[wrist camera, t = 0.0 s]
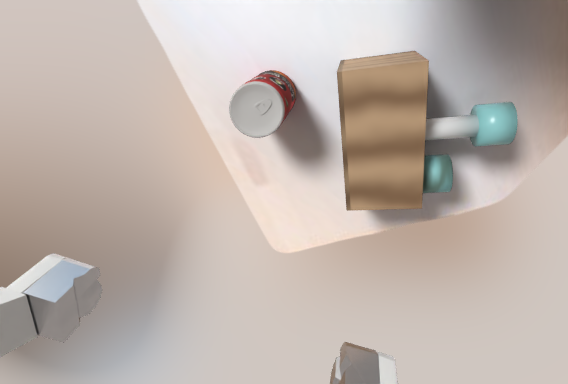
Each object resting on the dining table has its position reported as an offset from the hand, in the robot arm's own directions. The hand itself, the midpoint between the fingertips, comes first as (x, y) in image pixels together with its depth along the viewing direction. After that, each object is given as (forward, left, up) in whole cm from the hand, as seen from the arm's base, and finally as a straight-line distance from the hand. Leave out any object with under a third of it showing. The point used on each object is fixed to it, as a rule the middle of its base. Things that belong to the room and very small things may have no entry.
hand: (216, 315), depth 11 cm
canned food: (+5, -8, -48) cm, 49 cm away
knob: (+2, +19, -45) cm, 49 cm away
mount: (+5, +12, -48) cm, 50 cm away
